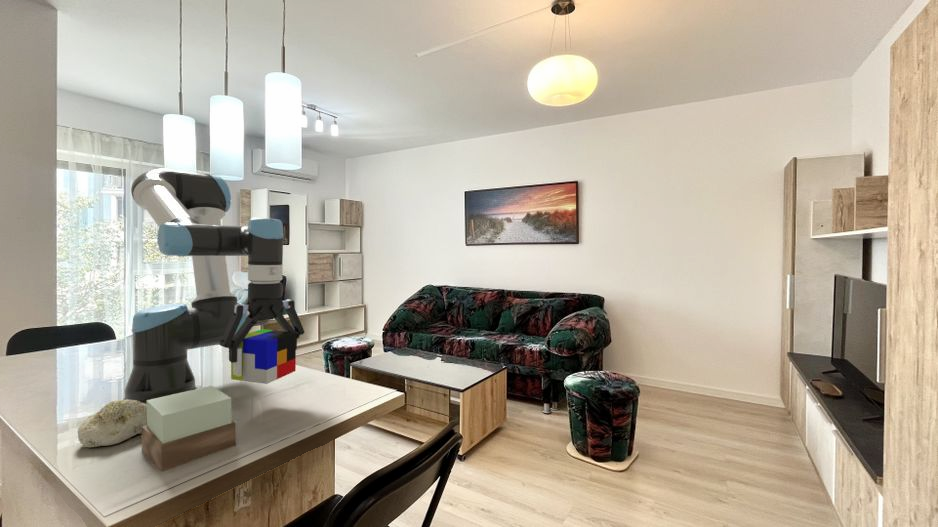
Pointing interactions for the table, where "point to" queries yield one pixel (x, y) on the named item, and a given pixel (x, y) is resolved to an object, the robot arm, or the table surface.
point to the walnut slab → (187, 445)
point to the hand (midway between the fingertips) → (264, 368)
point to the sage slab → (188, 413)
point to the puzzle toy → (267, 356)
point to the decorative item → (113, 423)
